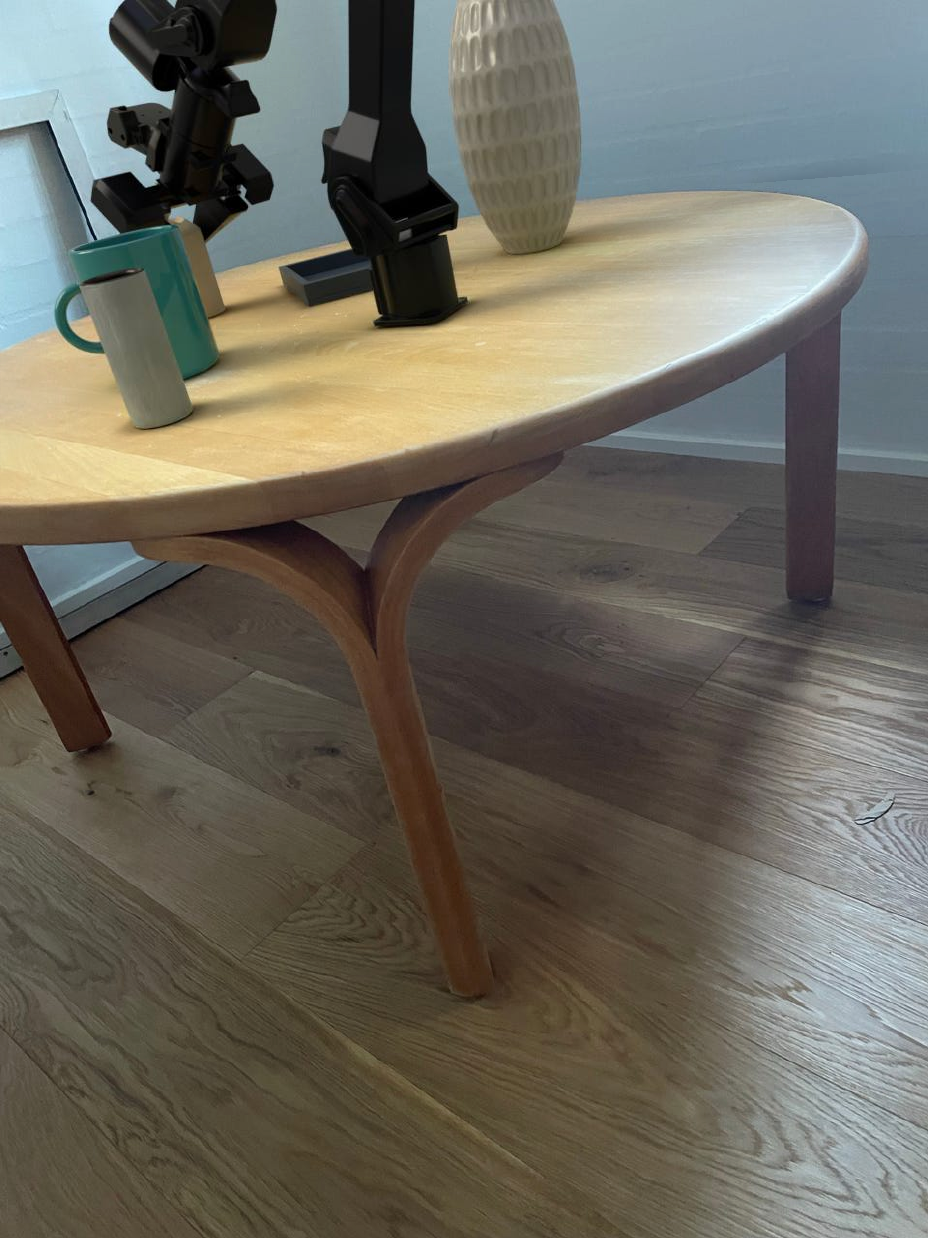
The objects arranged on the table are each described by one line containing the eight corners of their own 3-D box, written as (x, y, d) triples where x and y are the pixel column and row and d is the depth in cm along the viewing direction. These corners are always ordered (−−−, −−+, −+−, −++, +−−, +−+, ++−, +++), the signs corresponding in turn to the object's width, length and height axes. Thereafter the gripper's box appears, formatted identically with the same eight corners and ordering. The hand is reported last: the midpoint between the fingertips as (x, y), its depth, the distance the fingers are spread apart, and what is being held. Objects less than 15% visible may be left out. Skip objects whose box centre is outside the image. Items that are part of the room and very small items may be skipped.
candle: (212, 319, 98) (180, 219, 92) (167, 325, 99) (133, 228, 94) (233, 305, 102) (204, 209, 97) (190, 312, 104) (158, 218, 98)
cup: (88, 382, 83) (35, 253, 77) (217, 348, 85) (176, 220, 79) (82, 408, 75) (23, 266, 69) (225, 370, 77) (179, 229, 71)
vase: (598, 246, 93) (564, -99, 78) (475, 269, 94) (419, -65, 80) (586, 226, 104) (554, -80, 89) (476, 247, 105) (426, -51, 91)
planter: (140, 414, 70) (88, 276, 65) (198, 402, 70) (150, 263, 65) (126, 434, 66) (70, 288, 61) (187, 421, 66) (135, 274, 61)
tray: (441, 271, 97) (437, 250, 96) (308, 306, 94) (303, 284, 93) (400, 255, 110) (397, 236, 109) (283, 286, 107) (278, 266, 106)
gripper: (221, 53, 92) (192, 182, 104) (58, 80, 81) (47, 221, 93) (294, 131, 91) (256, 251, 104) (141, 169, 80) (119, 299, 92)
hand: (173, 253), depth 98 cm, fingers closed on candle, 5 cm apart
